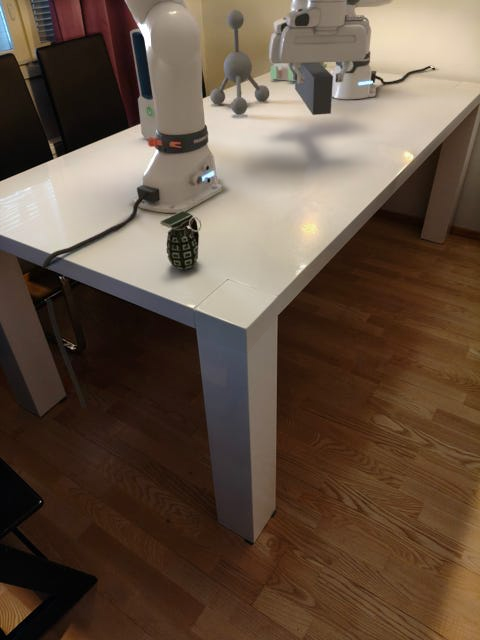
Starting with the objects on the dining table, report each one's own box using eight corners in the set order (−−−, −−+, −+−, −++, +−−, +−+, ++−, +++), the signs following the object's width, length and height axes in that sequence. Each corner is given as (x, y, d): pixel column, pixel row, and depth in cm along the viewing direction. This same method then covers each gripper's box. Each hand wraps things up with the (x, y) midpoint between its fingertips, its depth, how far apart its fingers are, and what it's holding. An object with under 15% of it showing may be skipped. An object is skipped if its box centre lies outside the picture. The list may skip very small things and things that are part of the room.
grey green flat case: (293, 53, 221) (333, 55, 211) (293, 68, 225) (332, 72, 215) (262, 63, 205) (303, 67, 195) (262, 80, 209) (303, 84, 199)
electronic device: (141, 137, 154) (123, 28, 136) (159, 131, 158) (144, 24, 140) (166, 145, 147) (151, 30, 129) (185, 138, 151) (172, 26, 133)
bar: (330, 113, 121) (333, 76, 116) (312, 115, 121) (314, 77, 116) (310, 87, 143) (311, 55, 138) (295, 88, 143) (295, 56, 138)
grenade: (182, 278, 88) (175, 228, 82) (162, 268, 91) (153, 219, 85) (208, 263, 92) (203, 214, 85) (187, 253, 95) (181, 205, 89)
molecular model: (288, 106, 174) (289, 7, 156) (237, 118, 165) (232, 15, 147) (250, 94, 190) (247, 3, 172) (202, 105, 181) (193, 10, 163)
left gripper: (366, 13, 113) (358, 78, 121) (279, 15, 112) (277, 81, 120) (374, 16, 108) (365, 84, 116) (283, 18, 107) (280, 86, 115)
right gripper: (342, 17, 132) (338, 73, 141) (267, 23, 132) (268, 78, 140) (348, 20, 127) (344, 78, 136) (270, 26, 127) (271, 83, 135)
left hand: (319, 82), depth 118 cm, fingers open, 8 cm apart
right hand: (305, 78), depth 138 cm, fingers closed on bar, 4 cm apart
